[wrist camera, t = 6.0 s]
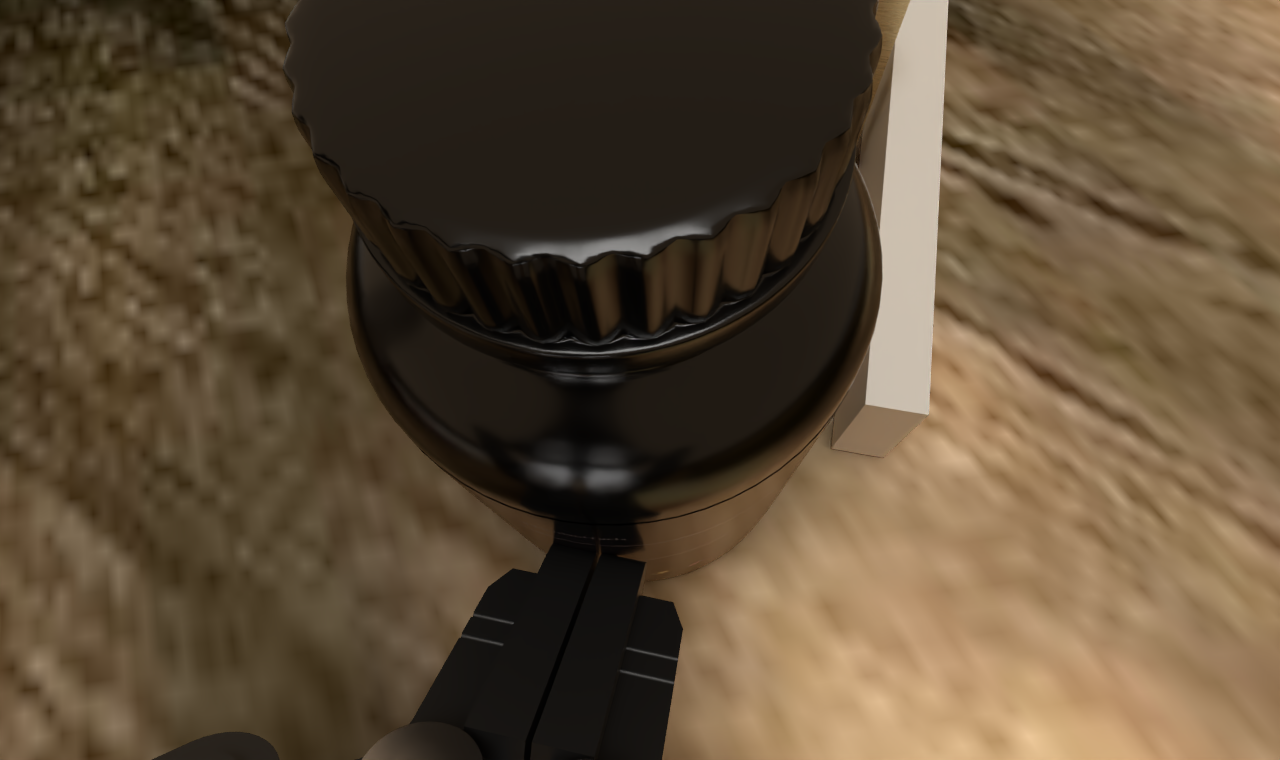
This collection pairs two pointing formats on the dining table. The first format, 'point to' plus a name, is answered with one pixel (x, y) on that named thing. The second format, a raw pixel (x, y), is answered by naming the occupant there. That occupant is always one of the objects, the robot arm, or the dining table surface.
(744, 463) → the supplement bottle
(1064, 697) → the dining table surface
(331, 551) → the dining table surface
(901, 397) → the holder
